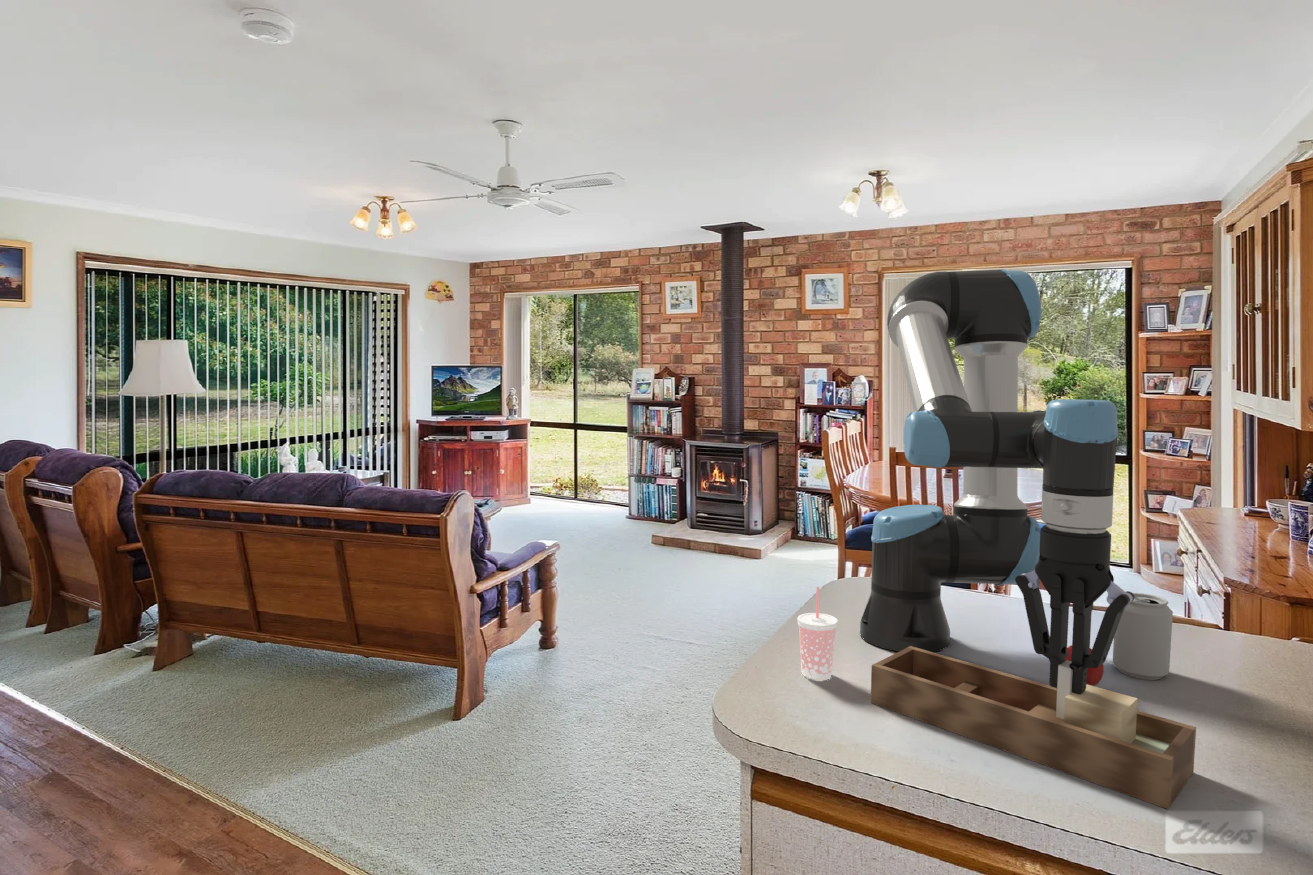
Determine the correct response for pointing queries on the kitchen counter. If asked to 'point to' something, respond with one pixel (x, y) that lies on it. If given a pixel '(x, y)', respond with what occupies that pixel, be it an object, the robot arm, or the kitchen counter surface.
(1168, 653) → the can
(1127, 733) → the maple block
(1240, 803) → the kitchen counter surface
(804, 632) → the beverage cup
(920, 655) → the wooden compartment tray
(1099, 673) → the onion
